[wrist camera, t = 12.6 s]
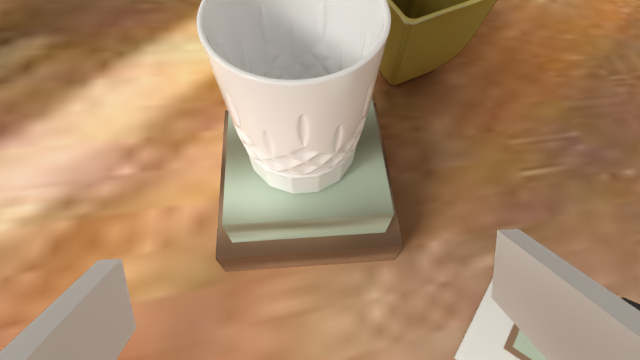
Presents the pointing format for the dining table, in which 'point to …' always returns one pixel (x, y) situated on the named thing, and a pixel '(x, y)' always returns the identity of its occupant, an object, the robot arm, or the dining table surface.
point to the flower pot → (428, 34)
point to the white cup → (296, 81)
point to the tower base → (305, 246)
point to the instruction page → (495, 336)
